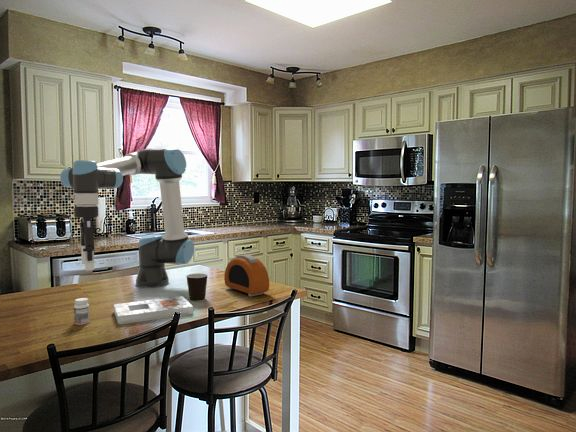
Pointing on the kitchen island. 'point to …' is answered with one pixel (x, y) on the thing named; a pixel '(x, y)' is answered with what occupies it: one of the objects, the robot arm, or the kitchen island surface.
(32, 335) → the kitchen island surface
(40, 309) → the kitchen island surface
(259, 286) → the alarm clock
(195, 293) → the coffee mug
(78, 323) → the pill bottle
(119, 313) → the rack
